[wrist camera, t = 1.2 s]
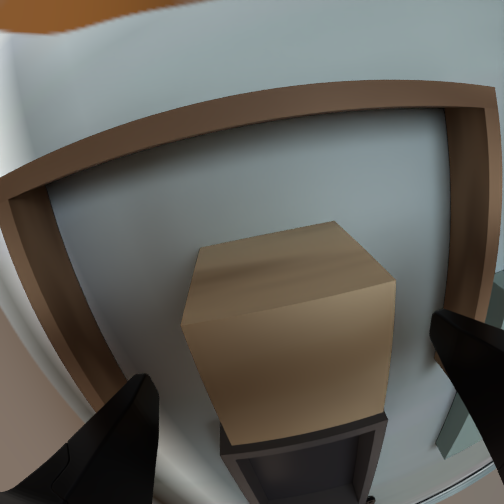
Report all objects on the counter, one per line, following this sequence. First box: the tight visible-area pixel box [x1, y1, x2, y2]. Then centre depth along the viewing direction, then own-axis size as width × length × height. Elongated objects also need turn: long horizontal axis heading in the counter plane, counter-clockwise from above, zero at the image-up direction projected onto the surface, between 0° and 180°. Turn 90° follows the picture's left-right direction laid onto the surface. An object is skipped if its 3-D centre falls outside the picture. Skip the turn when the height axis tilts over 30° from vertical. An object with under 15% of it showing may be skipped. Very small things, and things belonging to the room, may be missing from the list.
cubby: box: [0, 80, 502, 413], centre depth 11 cm, size 14×18×2 cm
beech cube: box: [180, 221, 396, 445], centre depth 10 cm, size 5×5×5 cm
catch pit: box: [220, 410, 388, 504], centre depth 16 cm, size 13×8×2 cm, turn 11°
